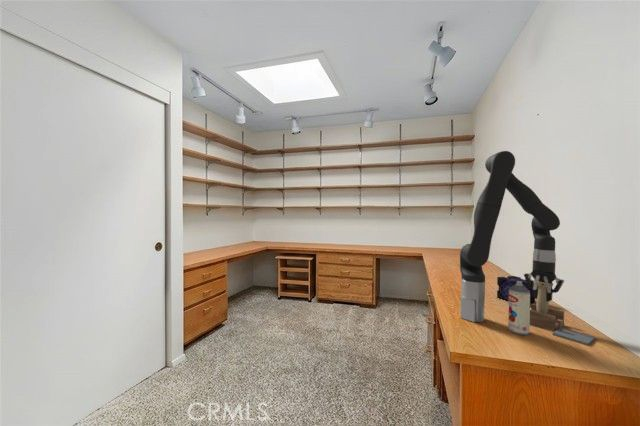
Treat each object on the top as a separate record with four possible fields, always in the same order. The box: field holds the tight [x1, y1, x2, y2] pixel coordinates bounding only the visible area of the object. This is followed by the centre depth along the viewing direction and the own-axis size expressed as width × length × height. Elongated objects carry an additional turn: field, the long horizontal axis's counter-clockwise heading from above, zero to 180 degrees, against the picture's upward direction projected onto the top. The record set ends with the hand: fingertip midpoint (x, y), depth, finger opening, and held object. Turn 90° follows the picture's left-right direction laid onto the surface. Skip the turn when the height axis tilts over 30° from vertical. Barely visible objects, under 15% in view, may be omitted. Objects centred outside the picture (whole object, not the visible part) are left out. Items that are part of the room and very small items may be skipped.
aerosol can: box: [507, 281, 531, 336], centre depth 107 cm, size 7×7×20 cm
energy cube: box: [496, 275, 536, 305], centre depth 146 cm, size 12×12×12 cm
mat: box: [552, 326, 596, 346], centre depth 103 cm, size 10×10×1 cm
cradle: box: [530, 303, 565, 333], centre depth 115 cm, size 12×11×6 cm
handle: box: [533, 279, 554, 314], centre depth 115 cm, size 5×6×15 cm
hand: (542, 299), depth 115 cm, fingers closed on handle, 3 cm apart
